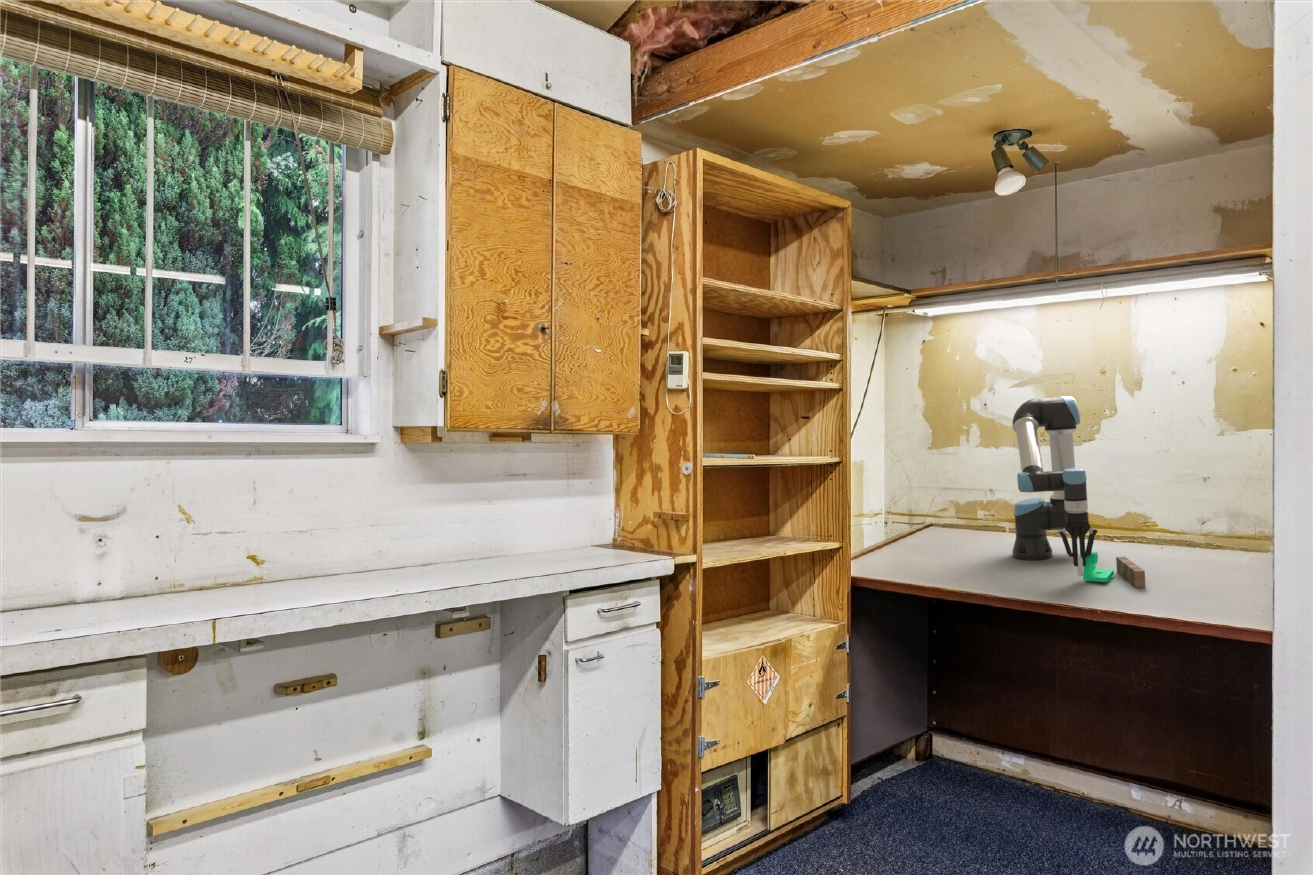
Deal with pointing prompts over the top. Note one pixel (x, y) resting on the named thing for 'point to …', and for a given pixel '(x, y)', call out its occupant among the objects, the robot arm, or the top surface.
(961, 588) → the top surface
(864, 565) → the top surface
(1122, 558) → the block
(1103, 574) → the camera mount
